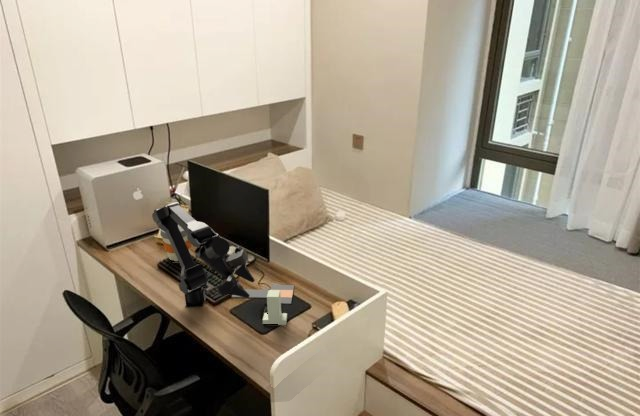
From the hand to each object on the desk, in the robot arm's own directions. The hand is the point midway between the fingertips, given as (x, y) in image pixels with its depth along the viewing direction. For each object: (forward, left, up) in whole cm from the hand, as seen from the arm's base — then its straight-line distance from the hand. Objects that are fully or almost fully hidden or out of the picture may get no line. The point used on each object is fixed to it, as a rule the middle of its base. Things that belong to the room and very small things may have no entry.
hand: (251, 288), depth 151 cm
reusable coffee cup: (-36, +48, -13) cm, 61 cm away
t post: (+7, -1, -13) cm, 15 cm away
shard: (-13, +33, -14) cm, 38 cm away
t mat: (+1, +16, -13) cm, 21 cm away
